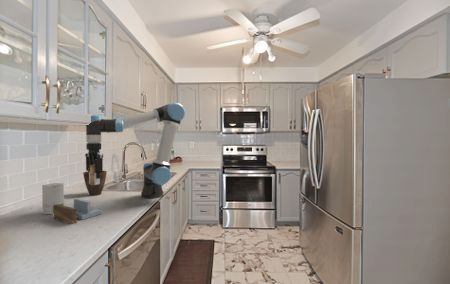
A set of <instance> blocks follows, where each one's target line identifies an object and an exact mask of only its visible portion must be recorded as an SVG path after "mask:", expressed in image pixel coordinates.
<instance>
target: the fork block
mask: <svg viewBox="0 0 450 284" xmlns="http://www.w3.org/2000/svg"><path fill="white" fill-rule="evenodd" d="M73 208H76V219H79V220H85V219H88V218H92V217H95V216H98V215H102V210H101V209H98V208H97V209H94V210H92V208H91V201H90V200H84V199H79V198H75V199H73Z"/></svg>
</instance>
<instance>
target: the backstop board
mask: <svg viewBox="0 0 450 284" xmlns="http://www.w3.org/2000/svg"><path fill="white" fill-rule="evenodd" d="M53 220H56V221H58V222H59V221H60V222H64V223H66V224H70V225H74V224H77V218H76V208H74V207H72V206H71V207H70V206H66V205H64V206H63V205H59V204H56V205H54V214H53Z"/></svg>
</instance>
